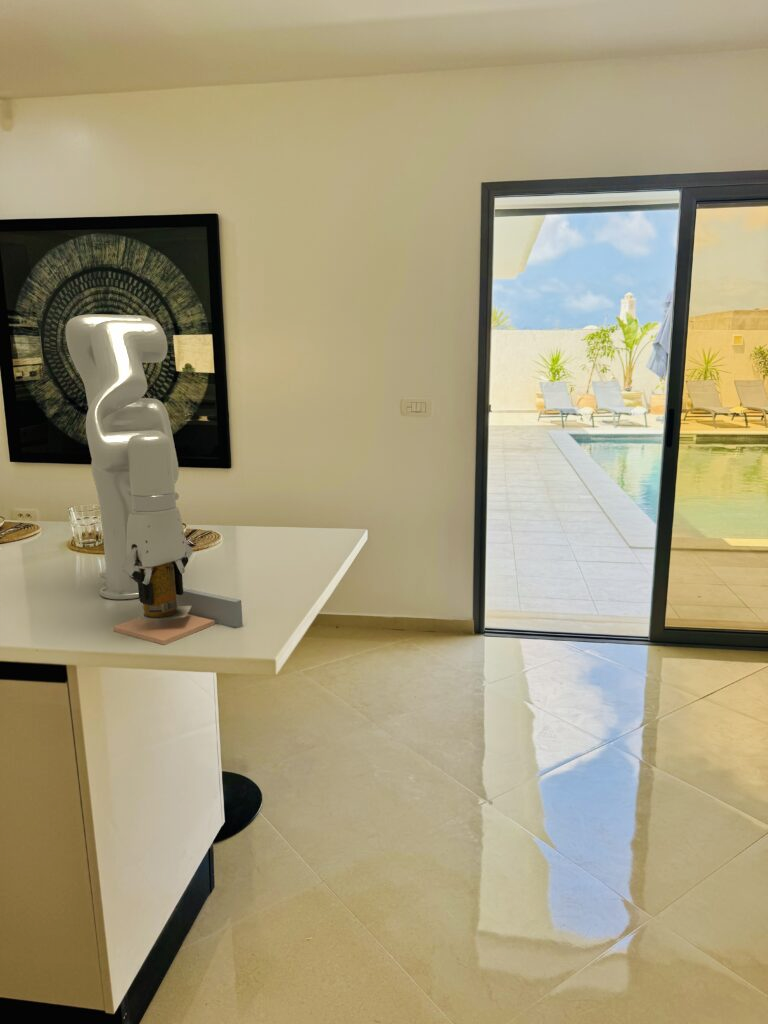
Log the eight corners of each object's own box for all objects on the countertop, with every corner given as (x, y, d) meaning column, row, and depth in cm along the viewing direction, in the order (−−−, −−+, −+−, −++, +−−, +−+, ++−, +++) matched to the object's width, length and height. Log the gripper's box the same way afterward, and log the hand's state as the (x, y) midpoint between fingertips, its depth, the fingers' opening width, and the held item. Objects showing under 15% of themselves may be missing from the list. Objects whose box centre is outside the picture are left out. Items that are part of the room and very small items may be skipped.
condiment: (146, 608, 137) (141, 547, 135) (191, 606, 138) (187, 545, 136) (137, 621, 130) (131, 556, 128) (185, 618, 131) (180, 554, 129)
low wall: (157, 609, 145) (155, 585, 144) (163, 607, 147) (161, 583, 146) (236, 627, 134) (235, 602, 133) (242, 625, 135) (241, 599, 134)
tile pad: (113, 630, 133) (112, 626, 133) (164, 612, 143) (164, 608, 143) (163, 644, 126) (163, 640, 126) (214, 624, 136) (214, 620, 135)
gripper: (177, 494, 139) (184, 584, 143) (99, 509, 125) (109, 608, 128) (204, 497, 135) (211, 589, 138) (127, 512, 121) (136, 615, 124)
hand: (162, 597), depth 133 cm, fingers closed on condiment, 6 cm apart
